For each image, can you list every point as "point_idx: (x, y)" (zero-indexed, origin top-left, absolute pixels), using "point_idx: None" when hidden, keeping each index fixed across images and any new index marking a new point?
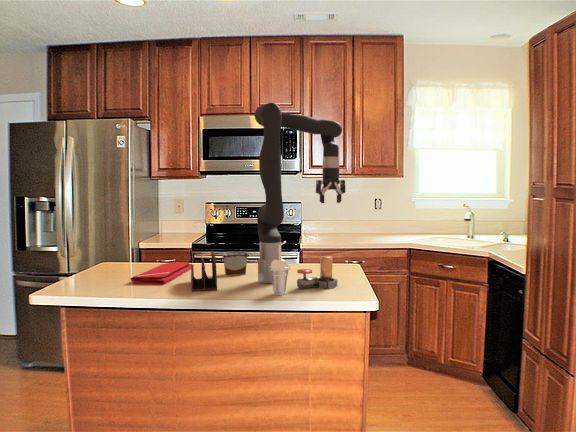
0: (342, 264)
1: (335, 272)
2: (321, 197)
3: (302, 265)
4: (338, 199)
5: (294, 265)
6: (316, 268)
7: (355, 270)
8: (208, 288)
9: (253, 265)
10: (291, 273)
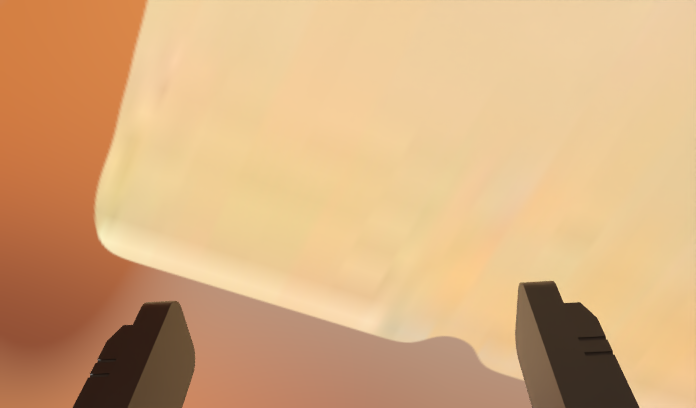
0: (161, 254)
1: (290, 67)
2: (616, 375)
3: (380, 297)
4: (164, 364)
5: (418, 310)
6: (345, 208)
7: (146, 79)
8: None
9: None
10: (547, 132)
